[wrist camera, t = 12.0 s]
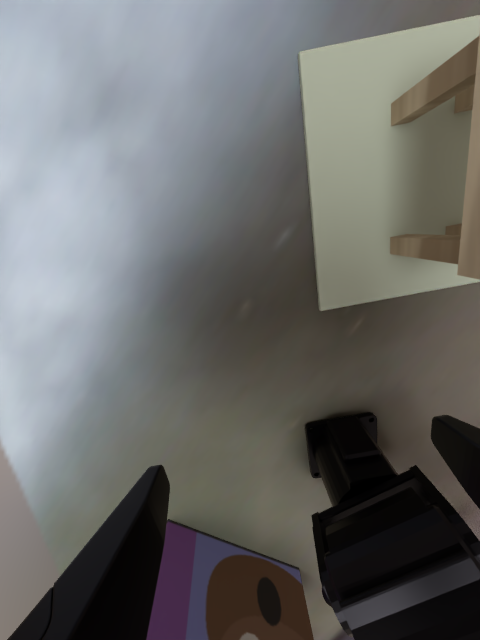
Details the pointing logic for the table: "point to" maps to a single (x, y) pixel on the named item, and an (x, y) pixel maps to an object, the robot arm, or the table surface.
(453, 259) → the beige wooden bench
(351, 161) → the mat
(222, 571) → the cereal box
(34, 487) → the table surface
